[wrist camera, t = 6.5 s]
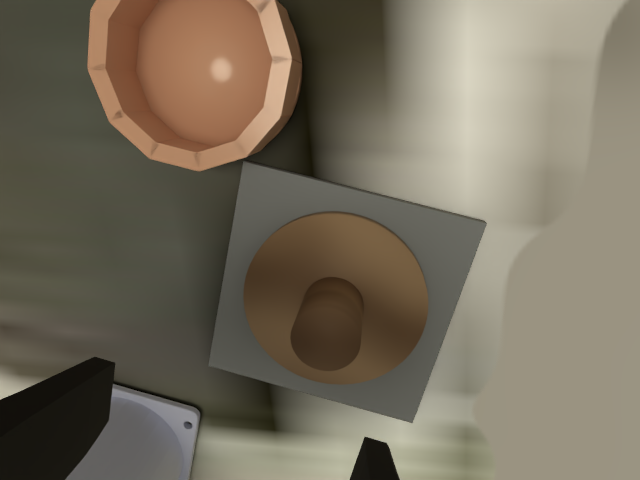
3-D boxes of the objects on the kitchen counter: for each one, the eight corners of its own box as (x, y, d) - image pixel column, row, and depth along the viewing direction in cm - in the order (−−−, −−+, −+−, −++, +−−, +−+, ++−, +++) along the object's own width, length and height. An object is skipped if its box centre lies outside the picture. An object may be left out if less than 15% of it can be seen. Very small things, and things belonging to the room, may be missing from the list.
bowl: (282, 176, 20) (266, 188, 17) (124, 136, 20) (83, 141, 17) (320, -8, 17) (308, -29, 15) (140, -50, 18) (95, -79, 15)
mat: (411, 417, 23) (412, 423, 23) (210, 361, 23) (208, 365, 23) (484, 220, 19) (486, 223, 19) (246, 160, 20) (243, 161, 20)
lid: (404, 392, 22) (409, 450, 18) (239, 356, 23) (211, 405, 19) (447, 231, 19) (463, 261, 16) (258, 195, 20) (230, 216, 16)
